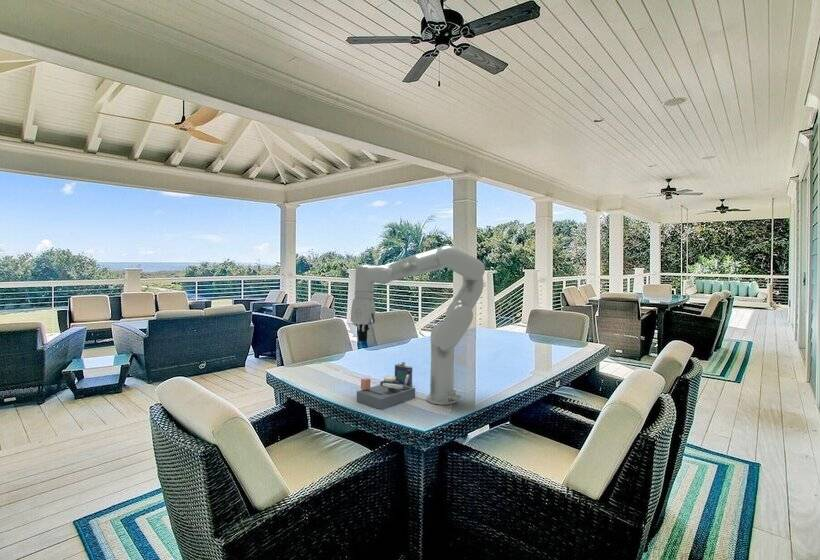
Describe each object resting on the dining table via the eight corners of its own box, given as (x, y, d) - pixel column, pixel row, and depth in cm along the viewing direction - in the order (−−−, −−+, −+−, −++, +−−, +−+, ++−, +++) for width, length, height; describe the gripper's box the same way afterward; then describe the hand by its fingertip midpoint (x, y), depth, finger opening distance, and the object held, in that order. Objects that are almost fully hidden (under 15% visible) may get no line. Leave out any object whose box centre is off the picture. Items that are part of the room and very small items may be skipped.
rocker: (402, 388, 171) (403, 386, 171) (389, 387, 165) (389, 384, 165) (395, 386, 174) (395, 384, 174) (382, 385, 168) (382, 382, 168)
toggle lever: (408, 387, 173) (413, 370, 175) (404, 386, 172) (410, 368, 174) (404, 386, 175) (409, 369, 177) (400, 385, 173) (406, 367, 175)
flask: (413, 385, 192) (413, 362, 191) (409, 387, 189) (410, 364, 189) (396, 382, 196) (396, 360, 196) (392, 384, 194) (392, 361, 194)
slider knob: (370, 388, 172) (370, 378, 171) (364, 390, 169) (365, 379, 169) (366, 387, 173) (366, 377, 173) (360, 388, 171) (361, 378, 171)
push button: (398, 384, 178) (398, 377, 178) (389, 386, 175) (389, 379, 175) (389, 381, 182) (389, 374, 182) (381, 384, 178) (381, 377, 178)
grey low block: (415, 397, 175) (415, 384, 175) (381, 409, 160) (381, 395, 160) (390, 390, 184) (391, 377, 184) (356, 401, 169) (356, 387, 169)
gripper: (344, 294, 171) (343, 339, 171) (370, 297, 161) (369, 344, 162) (358, 293, 177) (356, 337, 177) (384, 296, 167) (382, 342, 168)
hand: (362, 340), depth 170 cm, fingers closed
